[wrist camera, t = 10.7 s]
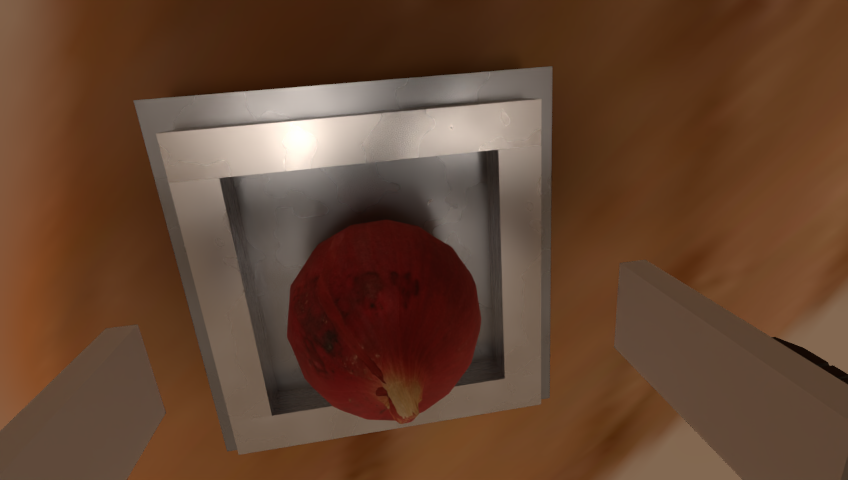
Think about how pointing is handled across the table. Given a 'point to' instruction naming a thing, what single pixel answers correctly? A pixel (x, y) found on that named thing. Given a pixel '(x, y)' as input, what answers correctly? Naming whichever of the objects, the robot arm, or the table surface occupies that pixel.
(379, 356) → the onion
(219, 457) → the table surface
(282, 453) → the table surface
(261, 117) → the silver shallow square tray
